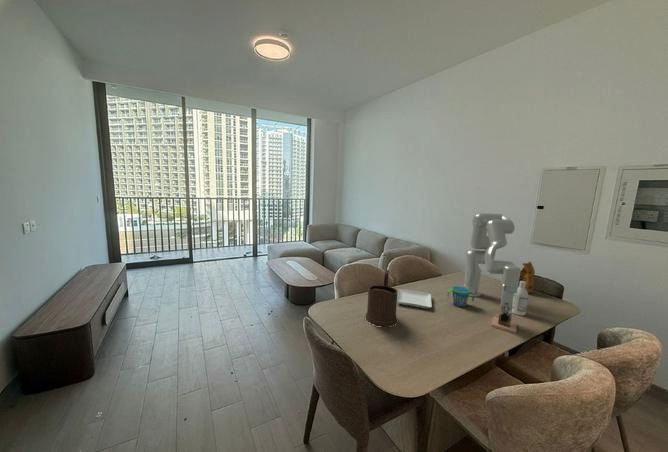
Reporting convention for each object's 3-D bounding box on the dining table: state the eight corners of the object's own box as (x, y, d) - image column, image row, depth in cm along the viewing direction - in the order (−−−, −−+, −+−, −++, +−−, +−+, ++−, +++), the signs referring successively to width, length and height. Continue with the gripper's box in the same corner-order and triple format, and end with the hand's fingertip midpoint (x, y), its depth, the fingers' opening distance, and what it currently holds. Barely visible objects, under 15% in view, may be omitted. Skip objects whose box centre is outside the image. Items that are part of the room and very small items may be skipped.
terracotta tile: (491, 326, 141) (491, 324, 141) (493, 318, 150) (493, 316, 149) (516, 333, 135) (516, 331, 134) (516, 324, 143) (516, 322, 143)
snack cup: (471, 303, 169) (473, 288, 167) (474, 310, 159) (476, 294, 157) (446, 298, 174) (447, 284, 173) (446, 305, 164) (448, 290, 163)
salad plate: (431, 312, 156) (432, 306, 156) (395, 305, 163) (396, 300, 162) (430, 297, 176) (431, 293, 175) (398, 293, 183) (399, 288, 182)
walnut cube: (497, 323, 141) (499, 314, 140) (498, 319, 146) (499, 310, 145) (510, 327, 138) (511, 317, 137) (510, 323, 143) (511, 313, 142)
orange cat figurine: (511, 290, 193) (515, 261, 189) (519, 287, 199) (523, 259, 196) (526, 295, 184) (531, 265, 181) (534, 291, 191) (539, 263, 187)
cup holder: (360, 323, 140) (363, 279, 136) (370, 305, 162) (372, 266, 158) (395, 331, 134) (399, 285, 130) (400, 310, 156) (403, 270, 152)
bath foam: (527, 314, 156) (532, 282, 152) (521, 316, 152) (526, 284, 149) (515, 309, 162) (520, 279, 159) (508, 311, 159) (513, 280, 156)
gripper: (501, 281, 148) (497, 309, 151) (499, 291, 134) (495, 322, 137) (517, 284, 144) (513, 313, 147) (517, 295, 130) (512, 326, 133)
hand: (504, 317), depth 142 cm, fingers open, 9 cm apart
